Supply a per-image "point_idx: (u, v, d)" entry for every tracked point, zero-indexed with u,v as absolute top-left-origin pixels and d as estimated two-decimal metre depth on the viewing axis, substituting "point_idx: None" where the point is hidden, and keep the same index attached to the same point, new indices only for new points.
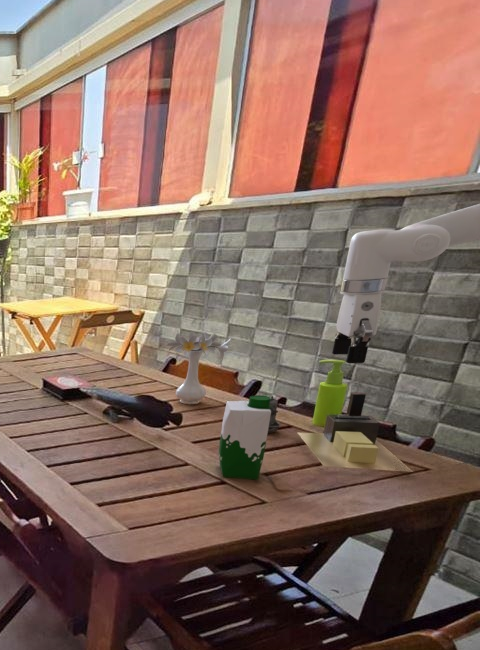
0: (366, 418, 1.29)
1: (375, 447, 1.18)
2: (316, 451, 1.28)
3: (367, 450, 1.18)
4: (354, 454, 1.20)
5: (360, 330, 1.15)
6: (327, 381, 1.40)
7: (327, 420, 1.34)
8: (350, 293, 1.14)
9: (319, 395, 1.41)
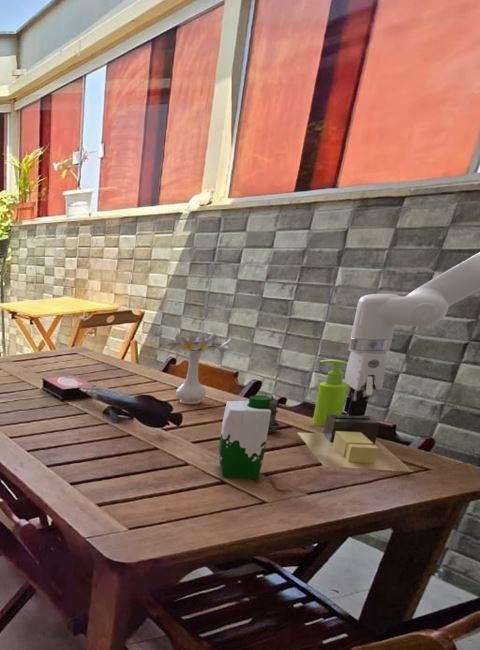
0: (366, 418, 1.29)
1: (375, 447, 1.18)
2: (316, 451, 1.28)
3: (367, 450, 1.18)
4: (354, 454, 1.20)
5: None
6: (327, 381, 1.40)
7: (327, 420, 1.34)
8: (357, 351, 1.23)
9: (319, 395, 1.41)
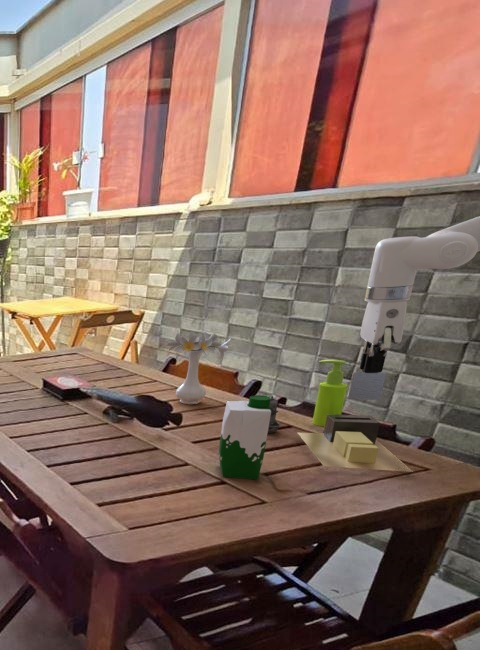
0: (384, 375, 1.19)
1: (375, 447, 1.18)
2: (316, 451, 1.28)
3: (367, 450, 1.18)
4: (354, 454, 1.20)
5: None
6: (327, 381, 1.40)
7: (327, 420, 1.34)
8: (375, 300, 1.14)
9: (319, 395, 1.41)
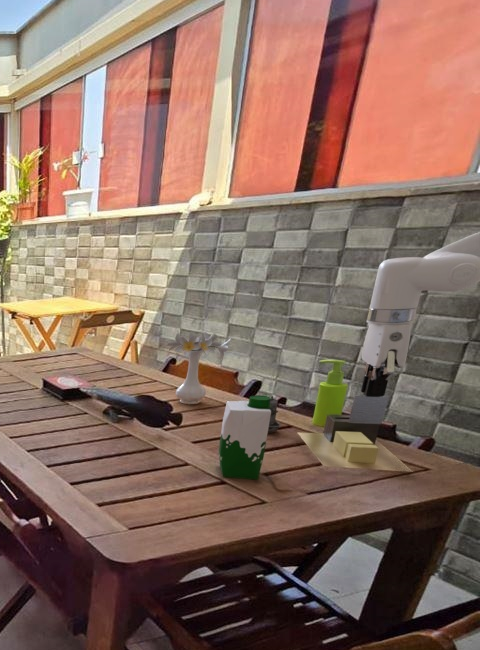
0: (386, 399, 1.15)
1: (375, 447, 1.18)
2: (316, 451, 1.28)
3: (367, 450, 1.18)
4: (354, 454, 1.20)
5: None
6: (327, 381, 1.40)
7: (327, 420, 1.34)
8: (377, 322, 1.09)
9: (319, 395, 1.41)
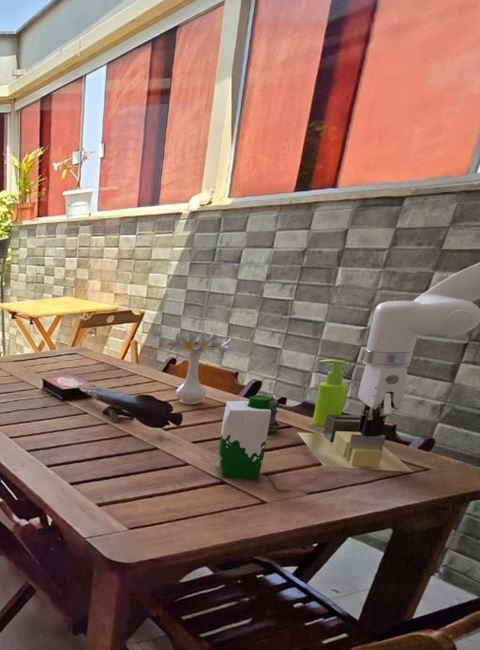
0: (383, 439, 1.16)
1: (379, 451, 1.16)
2: (316, 451, 1.28)
3: (371, 454, 1.16)
4: (358, 458, 1.18)
5: None
6: (327, 381, 1.40)
7: (327, 420, 1.34)
8: (374, 365, 1.10)
9: (319, 395, 1.41)
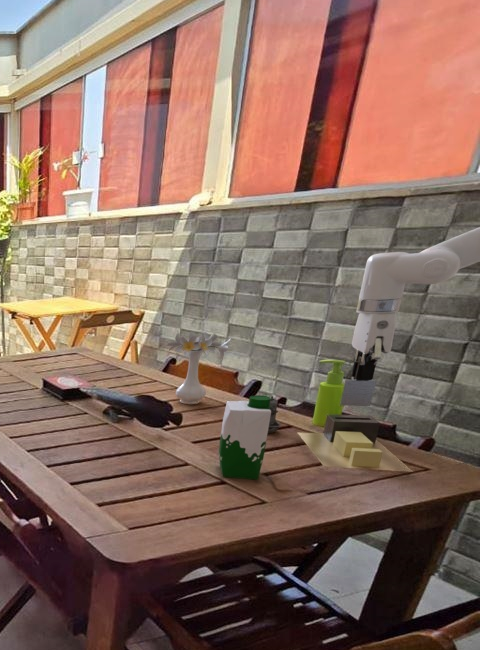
0: (374, 383, 1.26)
1: (379, 451, 1.16)
2: (316, 451, 1.28)
3: (371, 454, 1.16)
4: (358, 458, 1.18)
5: None
6: (327, 381, 1.40)
7: (327, 420, 1.34)
8: (366, 312, 1.20)
9: (319, 395, 1.41)
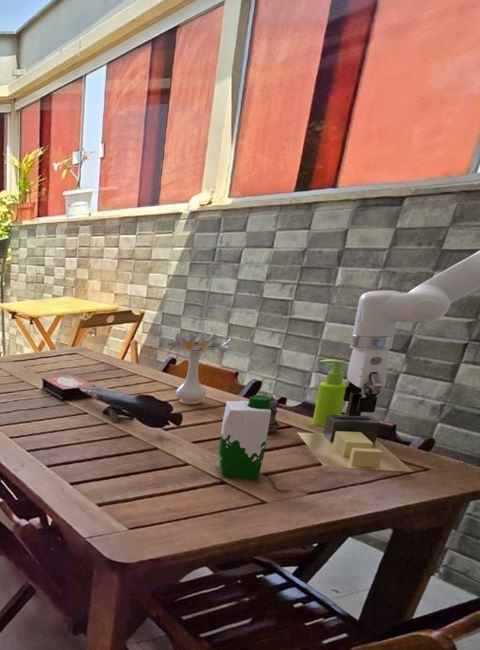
0: (365, 418, 1.29)
1: (379, 451, 1.16)
2: (316, 451, 1.28)
3: (371, 454, 1.16)
4: (358, 458, 1.18)
5: (369, 382, 1.24)
6: (327, 381, 1.40)
7: (327, 420, 1.34)
8: (359, 348, 1.23)
9: (319, 395, 1.41)
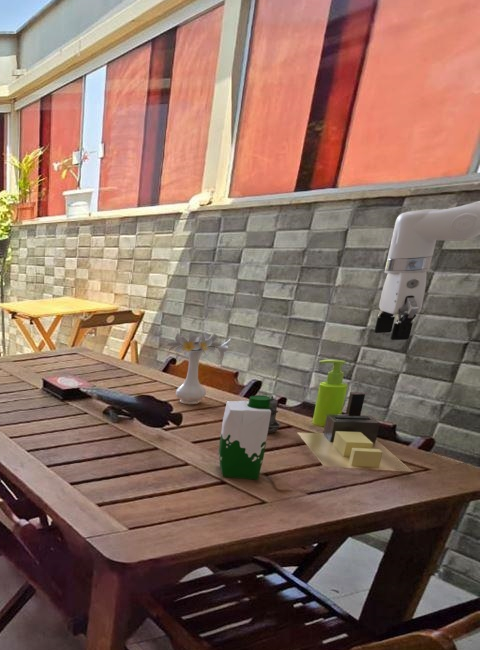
0: (365, 418, 1.29)
1: (379, 451, 1.16)
2: (316, 451, 1.28)
3: (371, 454, 1.16)
4: (358, 458, 1.18)
5: (405, 307, 1.19)
6: (327, 381, 1.40)
7: (327, 420, 1.34)
8: (395, 272, 1.18)
9: (319, 395, 1.41)
